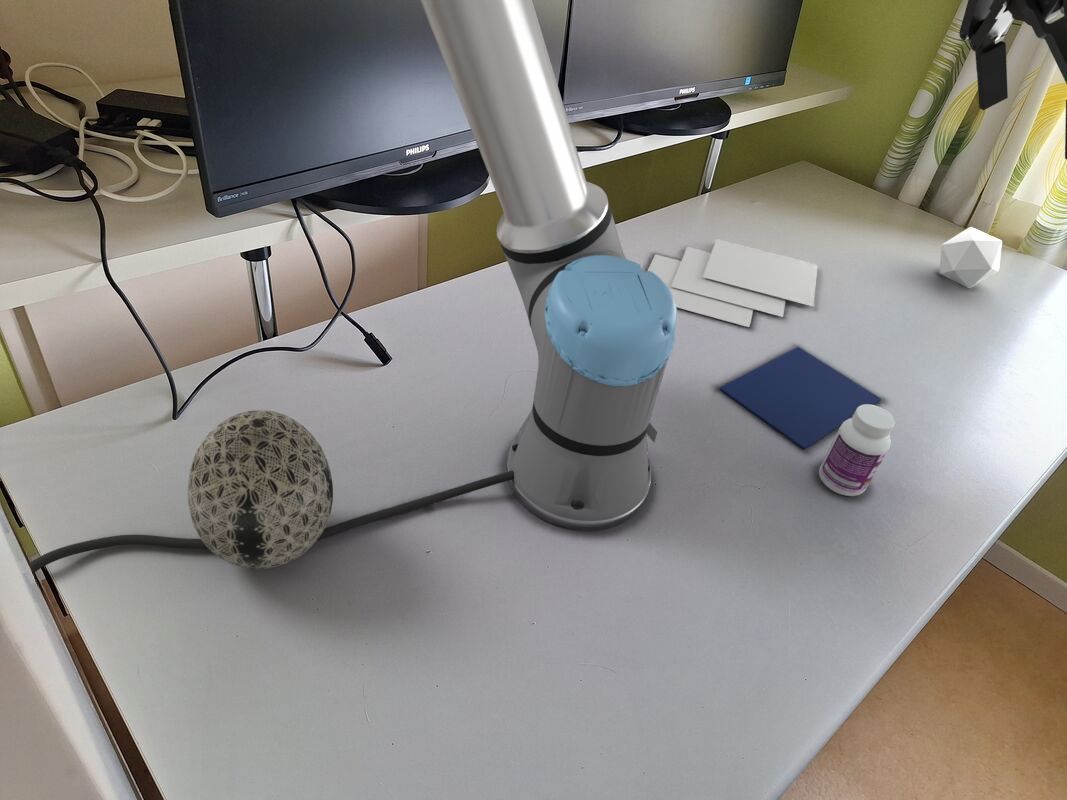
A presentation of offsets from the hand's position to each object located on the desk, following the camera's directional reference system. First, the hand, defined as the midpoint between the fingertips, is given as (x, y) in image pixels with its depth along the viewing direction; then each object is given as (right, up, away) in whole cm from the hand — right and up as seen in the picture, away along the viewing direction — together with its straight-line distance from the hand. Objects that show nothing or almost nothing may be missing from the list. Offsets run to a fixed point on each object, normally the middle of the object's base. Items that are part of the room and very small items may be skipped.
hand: (1034, 126), depth 79 cm
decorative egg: (-76, -42, -9) cm, 87 cm away
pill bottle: (-17, -37, +7) cm, 42 cm away
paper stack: (-22, -10, +38) cm, 45 cm away
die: (+19, -8, +48) cm, 52 cm away
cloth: (-18, -28, +18) cm, 38 cm away
